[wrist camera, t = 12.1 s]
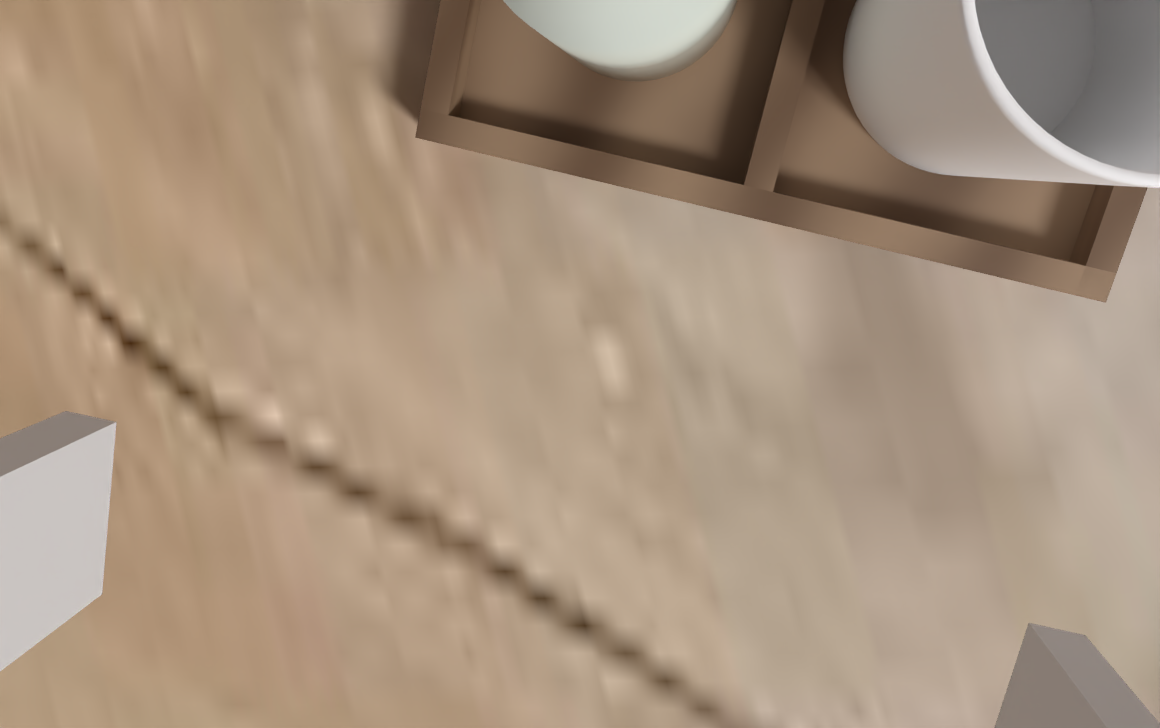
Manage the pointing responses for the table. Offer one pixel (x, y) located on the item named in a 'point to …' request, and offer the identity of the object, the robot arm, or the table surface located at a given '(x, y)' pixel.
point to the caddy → (760, 143)
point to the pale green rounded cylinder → (629, 32)
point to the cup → (1011, 87)
